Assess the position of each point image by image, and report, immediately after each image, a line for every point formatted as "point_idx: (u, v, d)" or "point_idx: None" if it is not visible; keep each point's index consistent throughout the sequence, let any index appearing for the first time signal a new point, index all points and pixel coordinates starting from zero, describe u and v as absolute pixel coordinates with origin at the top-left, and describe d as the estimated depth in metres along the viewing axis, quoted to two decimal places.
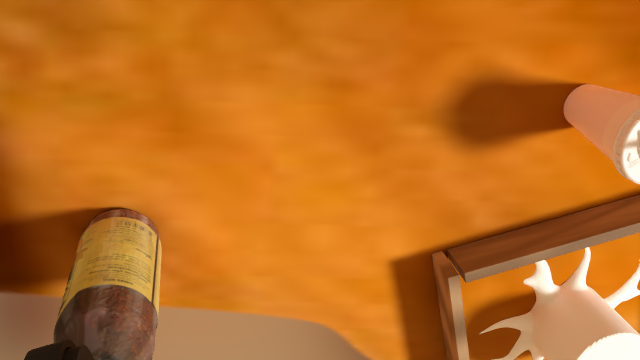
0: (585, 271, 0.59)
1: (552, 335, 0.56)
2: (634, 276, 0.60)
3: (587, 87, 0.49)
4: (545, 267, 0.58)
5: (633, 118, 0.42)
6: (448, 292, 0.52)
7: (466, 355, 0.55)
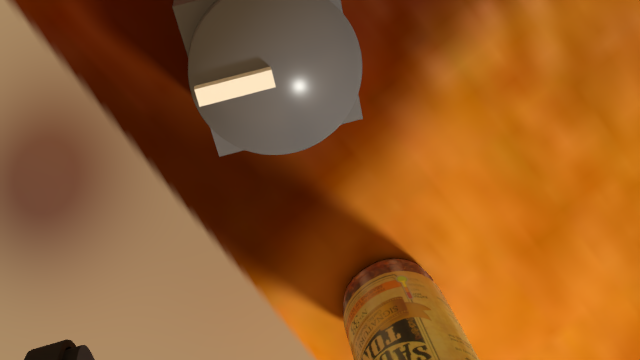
0: None
1: None
2: None
3: None
4: None
5: None
6: None
7: None
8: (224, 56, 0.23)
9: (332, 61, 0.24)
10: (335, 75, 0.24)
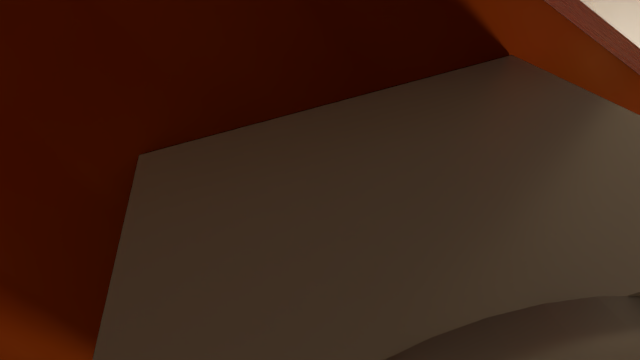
0: None
1: None
2: None
3: None
4: None
5: None
6: None
7: None
8: None
9: None
10: None
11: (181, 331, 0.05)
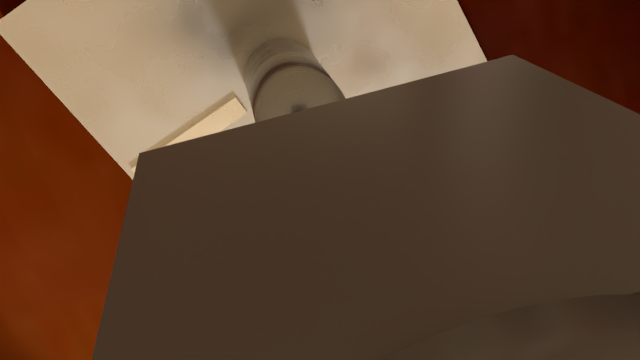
0: None
1: None
2: None
3: None
4: None
5: None
6: None
7: None
8: None
9: None
10: None
11: (182, 328, 0.05)
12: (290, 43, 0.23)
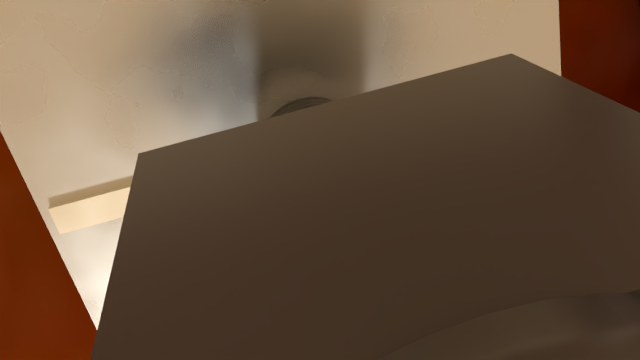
0: None
1: None
2: None
3: None
4: None
5: None
6: None
7: None
8: None
9: None
10: None
11: (181, 328, 0.05)
12: None
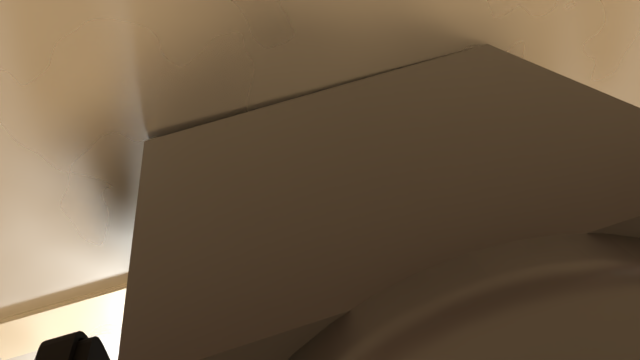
0: None
1: None
2: None
3: None
4: None
5: None
6: None
7: None
8: None
9: None
10: None
11: (202, 281, 0.06)
12: None
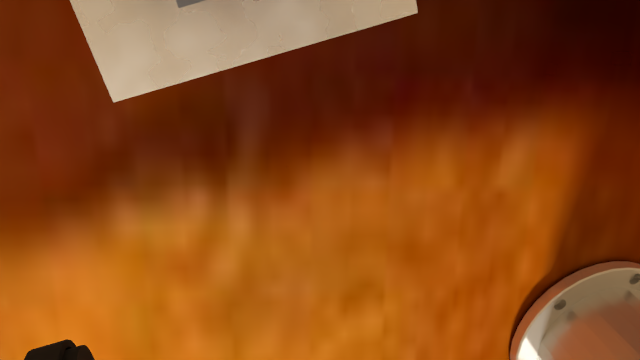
0: None
1: None
2: None
3: None
4: None
5: None
6: None
7: None
8: None
9: None
10: None
11: None
12: None
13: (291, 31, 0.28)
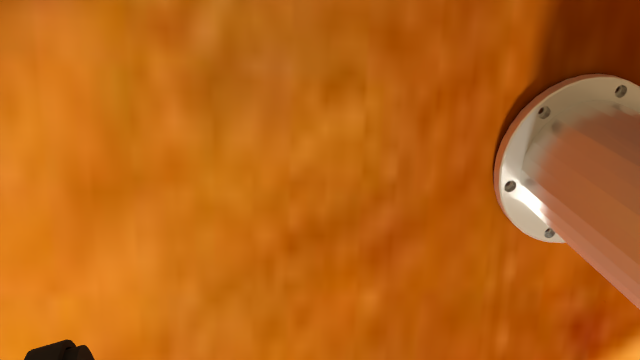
0: None
1: None
2: None
3: None
4: None
5: None
6: None
7: None
8: None
9: None
10: None
11: None
12: None
13: None
